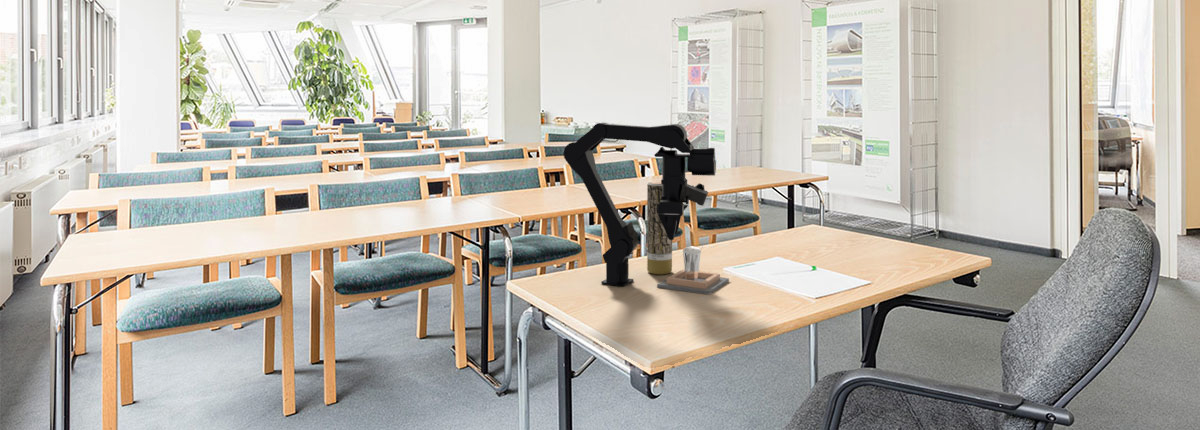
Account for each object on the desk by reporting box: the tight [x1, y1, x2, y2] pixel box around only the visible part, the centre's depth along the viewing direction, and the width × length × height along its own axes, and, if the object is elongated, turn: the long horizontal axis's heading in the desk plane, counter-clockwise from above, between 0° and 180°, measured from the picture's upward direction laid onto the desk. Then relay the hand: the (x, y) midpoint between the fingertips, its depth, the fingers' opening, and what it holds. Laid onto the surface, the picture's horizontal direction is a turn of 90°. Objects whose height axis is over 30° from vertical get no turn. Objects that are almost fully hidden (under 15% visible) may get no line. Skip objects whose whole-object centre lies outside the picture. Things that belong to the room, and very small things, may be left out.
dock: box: [656, 269, 730, 295], centre depth 182 cm, size 14×14×2 cm
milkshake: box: [682, 243, 705, 281], centre depth 181 cm, size 4×5×10 cm
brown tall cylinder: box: [646, 180, 673, 276], centre depth 193 cm, size 7×7×25 cm
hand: (673, 236), depth 179 cm, fingers open, 9 cm apart
